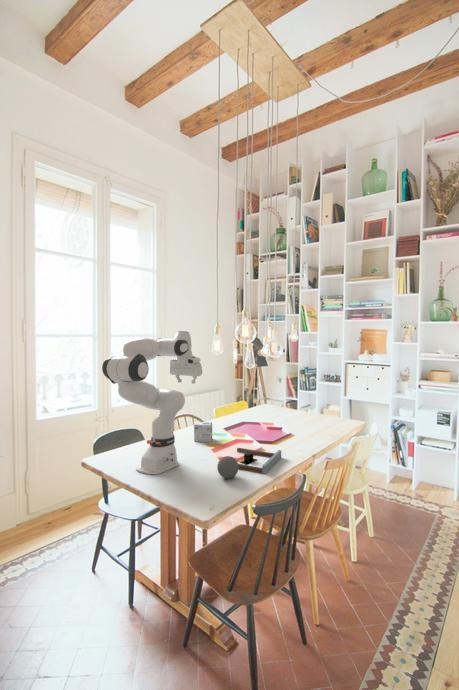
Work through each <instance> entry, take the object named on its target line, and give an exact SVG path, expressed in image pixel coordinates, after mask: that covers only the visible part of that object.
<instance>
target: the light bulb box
mask: <svg viewBox="0 0 459 690" xmlns="http://www.w3.org/2000/svg"><path fill="white" fill-rule="evenodd" d="M193 436H194V437H193V441H194V442H198V443H199V442H201V443H202V442H203V443H211V442H212V440H213V422H211V421H209V422H207V421H204V422H203V421H202V422H201V421H195V423H194V424H193Z"/></svg>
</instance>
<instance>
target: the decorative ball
mask: <svg viewBox="0 0 459 690" xmlns="http://www.w3.org/2000/svg"><path fill="white" fill-rule="evenodd" d="M238 464H239V463H238V460H237V459H235V458H234V457H232V456H229V455H226V456H223V457H222V458H220V460H219V461H218V462H217V466H216V467H217V473H218V474H219V476H221V477H222V478H223V479H226V480H227V479H232V478H235V476H237V474H238V472H239V470H240V469H239V466H238Z"/></svg>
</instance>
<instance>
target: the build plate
mask: <svg viewBox="0 0 459 690" xmlns="http://www.w3.org/2000/svg"><path fill="white" fill-rule="evenodd" d="M255 462H258V459H257V458H254V455H253V453H249V452H248V453H243V460H241V461H240V462H239V463H238V464H243V465H249V466H250V465H251V464H253V463H255Z"/></svg>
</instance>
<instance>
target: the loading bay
mask: <svg viewBox="0 0 459 690" xmlns="http://www.w3.org/2000/svg"><path fill="white" fill-rule="evenodd" d="M236 452H237V453H242V454H246V453H248V452H249V453H253V456H254V455H255V456H260V457H266V458H268V460H266V461H265V463H263V464H262V466H261V467H258V466H253V465H250V464H249V465H245V464H242V463H238V466H239V469H238V470H243V471H248V472H253V473H259V474H263V475H267V473H269V471H270V470H271V469H273V467H274V466H275V465H276V464H277V463H278V462H279V461H280V459H282V450H280V449H279V450H277V451H276V452H270V451H269V452H268V451H261V450H256V449H250V448H243V447H237V449H236Z"/></svg>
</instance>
